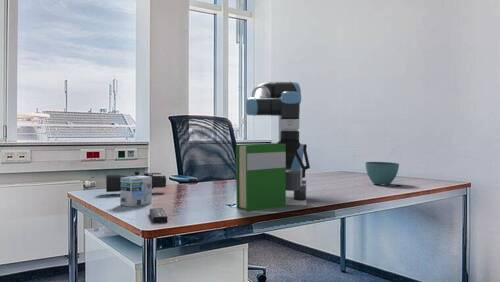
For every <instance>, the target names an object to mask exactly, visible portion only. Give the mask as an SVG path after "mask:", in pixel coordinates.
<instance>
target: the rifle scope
mask: <svg viewBox="0 0 500 282" xmlns="http://www.w3.org/2000/svg"><path fill="white" fill-rule="evenodd" d="M132 176H140V171H134V175H130V176H129V175H123V174H106V176H105V177H106V182H105V184H106V185H105V188H106V189H105V191H106V193H113V192H114V193H115V192H116V193H117V192H120V186H121V178H122V177H132ZM141 176H149V177H152V190H153V189H154V188H155V189H156V188H166V187H167V177H166V175H161V172H152V173H151V172H144V173H143V174H141Z"/></svg>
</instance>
